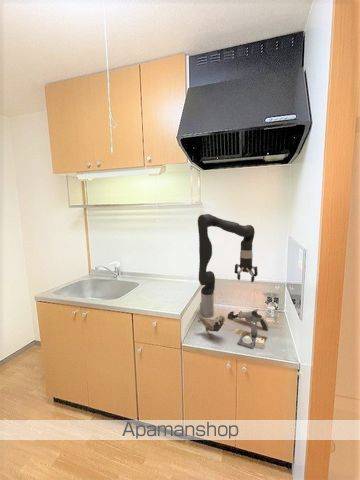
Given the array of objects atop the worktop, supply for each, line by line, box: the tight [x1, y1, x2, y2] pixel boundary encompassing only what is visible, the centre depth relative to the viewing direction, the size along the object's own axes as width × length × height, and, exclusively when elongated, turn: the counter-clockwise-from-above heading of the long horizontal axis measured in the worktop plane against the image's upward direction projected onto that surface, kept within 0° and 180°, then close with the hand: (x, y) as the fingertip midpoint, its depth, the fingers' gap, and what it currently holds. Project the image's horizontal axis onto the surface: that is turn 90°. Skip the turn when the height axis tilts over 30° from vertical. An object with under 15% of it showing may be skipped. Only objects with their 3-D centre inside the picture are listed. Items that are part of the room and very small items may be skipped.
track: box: [232, 328, 269, 343], centre depth 151 cm, size 20×6×1 cm, turn 57°
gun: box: [227, 309, 269, 332], centre depth 165 cm, size 5×27×15 cm, turn 51°
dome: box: [242, 336, 252, 345], centre depth 143 cm, size 5×5×5 cm
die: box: [254, 338, 265, 350], centre depth 140 cm, size 4×4×5 cm
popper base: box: [236, 335, 256, 350], centre depth 143 cm, size 9×9×2 cm
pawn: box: [250, 322, 258, 338], centre depth 149 cm, size 4×4×9 cm
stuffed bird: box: [197, 314, 226, 340], centre depth 149 cm, size 10×20×17 cm, turn 65°
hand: (245, 280), depth 155 cm, fingers open, 8 cm apart
